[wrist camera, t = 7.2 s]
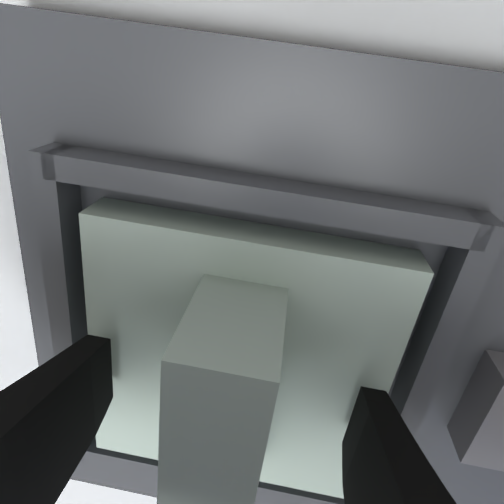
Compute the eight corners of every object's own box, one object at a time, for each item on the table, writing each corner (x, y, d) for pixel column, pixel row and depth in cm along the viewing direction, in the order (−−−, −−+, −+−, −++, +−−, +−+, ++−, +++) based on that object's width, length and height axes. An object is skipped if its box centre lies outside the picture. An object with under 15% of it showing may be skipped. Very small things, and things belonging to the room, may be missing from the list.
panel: (905, 129, 9) (1139, 157, 6) (557, 543, 16) (602, 630, 13) (27, 9, 10) (-65, -9, 7) (75, 443, 17) (36, 506, 14)
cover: (420, 249, 10) (492, 371, 6) (344, 463, 13) (359, 625, 9) (103, 197, 10) (-20, 277, 6) (113, 416, 14) (38, 552, 10)
